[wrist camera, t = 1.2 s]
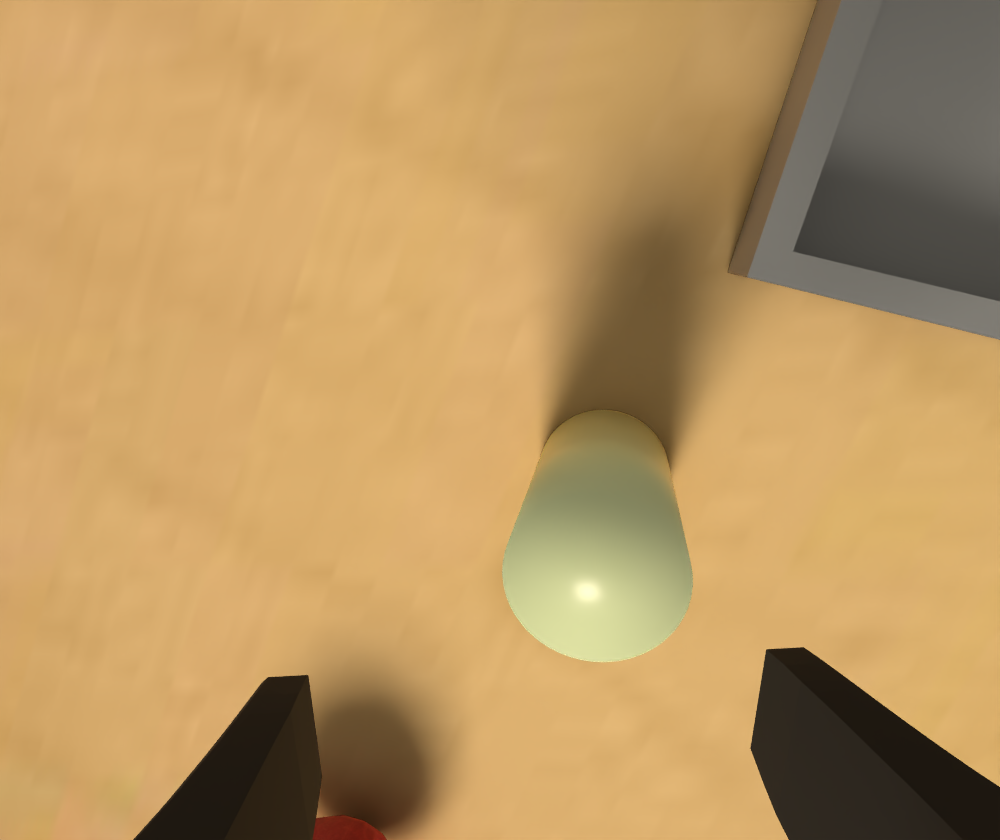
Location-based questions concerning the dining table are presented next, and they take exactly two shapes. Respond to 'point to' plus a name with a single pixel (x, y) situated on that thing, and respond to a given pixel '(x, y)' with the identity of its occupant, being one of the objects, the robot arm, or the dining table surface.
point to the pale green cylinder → (599, 542)
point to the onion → (345, 829)
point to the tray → (887, 164)
